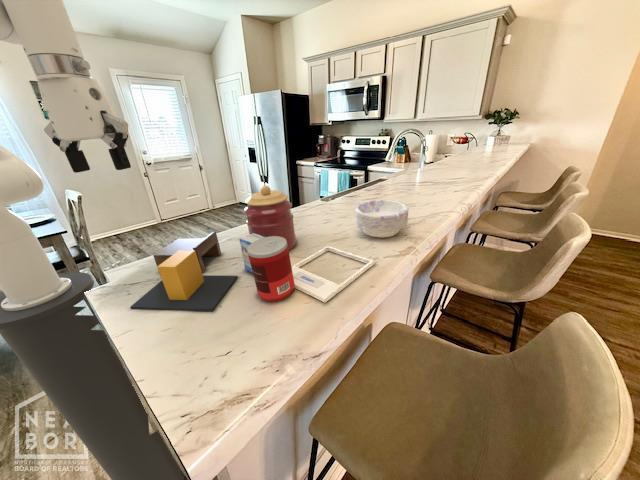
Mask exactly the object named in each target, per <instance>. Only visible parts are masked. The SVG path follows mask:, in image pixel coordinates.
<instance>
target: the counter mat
mask: <svg viewBox="0 0 640 480" xmlns="http://www.w3.org/2000/svg"><path fill="white" fill-rule="evenodd" d="M202 275H203V278H204V282H203V283H202V284H201V286H200V287H199V288H198V289H197V290H196V291H195V292H194V293H193V294H192V295H191V296H190V297H189V298H188V300H170V299H169V297H168V294H167V292H166V289H165V286H164V284H163V281H162V280H160V281H159V282H158V283H157V284H155V285H154V286H153V287H152V288H151V289H149V290H148V292H146V293H145V294H144V295H143V296H141V297H140V298H139V299H137V301H135V302H134V303H133V304H131V306H129V308H130V310H142V311H143V310H144V311H145V310H146V311H147V310H148V311H177V312H178V311H180V312H211V313H213V312H214V311H215V310H216V308H217V307H218V306H219V304H220V303H221V301H222V300H223V299H224V297H225V296H226V295H227V293H228V292H229V290H230V289H231V288H232V286H233V285H234V283H235V282H236V281H237V279H238V275H211V274H210V275H205V274H202Z"/></svg>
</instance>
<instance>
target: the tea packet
mask: <svg viewBox="0 0 640 480" xmlns="http://www.w3.org/2000/svg"><path fill="white" fill-rule="evenodd" d="M156 269H157V271H158V273H159V276H160V278H161V281H163V284H164V286H165V289H166V292H167V294H168V297H169V299H170V300H188V298H189V297H190V296H191V295H192V294H193V293H194V292H195V291H196V290H197V289H198V288H199V287H200V286H201V284H202V283H203V282H204V278H203V275H204V274H203V273H202V271H201V268H200V265H199V261H198V258H197V255H196V252H195V250H194V251H177V252H176V253H175V254H173V255H172V256H171V257H169V258H168V259H167V260H165V261H164V262H163V263H161V264H160V265H159V266H158V267H157V266H156Z"/></svg>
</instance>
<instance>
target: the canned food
mask: <svg viewBox="0 0 640 480" xmlns="http://www.w3.org/2000/svg"><path fill="white" fill-rule="evenodd" d="M247 251H248V256H249V260H250V264H251V268H252V272H253V273H252V275H253V279H254V284H255V287H256V291H257V294H258V296H259V297H260V298H261V300H263V301H266V302H279V301H282V300H284V299H286V298H288V297H289V296H290V295H291V294H292V293H293V291H294V289H295V288H294V279H293V273H292V267H291V266H292V262H291V256H290V250H289V249H288V244H287V241H286V239H285V238H283V237H279V236H270V237H264V238H261V239H258V240H256V241H254V242H253V243H251V244H250V245H249V246H248V248H247Z"/></svg>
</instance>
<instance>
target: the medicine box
mask: <svg viewBox="0 0 640 480" xmlns="http://www.w3.org/2000/svg"><path fill="white" fill-rule="evenodd" d="M261 238H264V237H263V236H261V235H258V234H255V233H252V234H249V233H248V234H247V235H244V236H242V237H240V238H239V239H238V240H239V245H240V250H241V255H242V259H243V265H244V269H245V271H247V272H248V273H251V274H253V272H252V268H251V264H250V260H249V256H248V251H247V248H248V246H249V245H250V244H251V243H253V242H254V241H256V240H258V239H261Z"/></svg>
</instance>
